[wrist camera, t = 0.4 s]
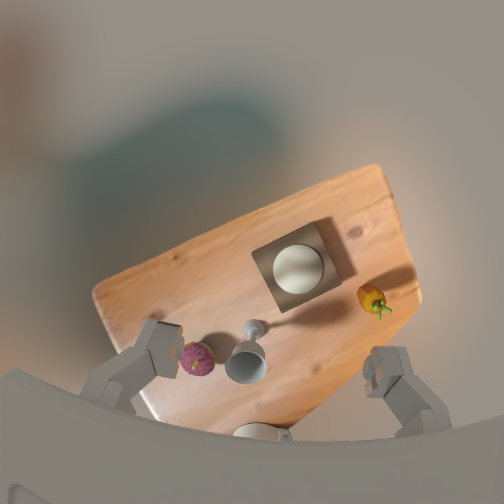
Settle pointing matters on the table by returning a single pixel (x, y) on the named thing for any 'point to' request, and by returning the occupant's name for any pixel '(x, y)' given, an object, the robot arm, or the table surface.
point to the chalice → (248, 356)
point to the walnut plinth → (297, 267)
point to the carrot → (372, 300)
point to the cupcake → (197, 359)
